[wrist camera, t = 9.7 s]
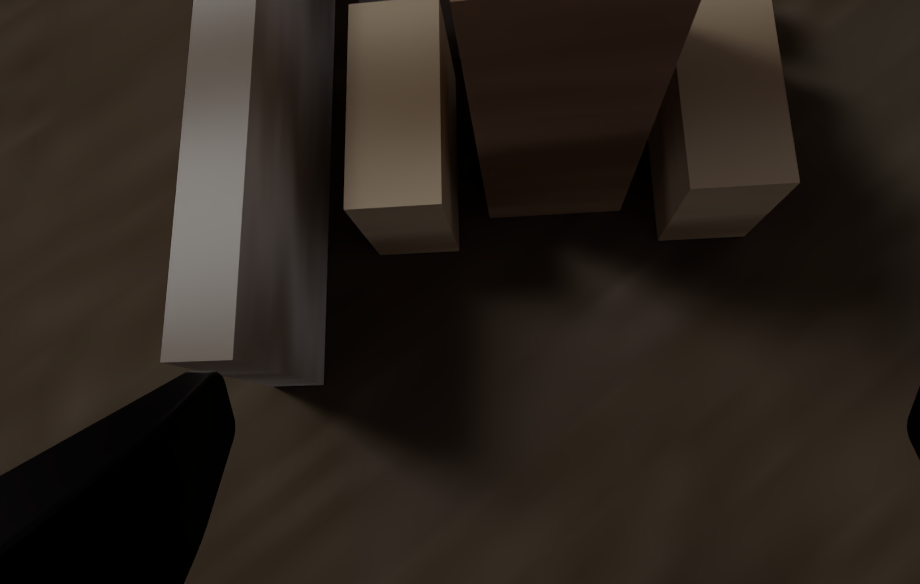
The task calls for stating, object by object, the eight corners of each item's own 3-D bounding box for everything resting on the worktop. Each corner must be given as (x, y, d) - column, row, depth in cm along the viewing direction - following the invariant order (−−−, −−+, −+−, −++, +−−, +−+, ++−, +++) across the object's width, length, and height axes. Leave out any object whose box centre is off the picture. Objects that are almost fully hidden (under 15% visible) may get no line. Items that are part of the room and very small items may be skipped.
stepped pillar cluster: (761, 371, 18) (874, 337, 12) (272, 386, 19) (160, 362, 13) (706, -49, 21) (773, -237, 15) (292, -9, 22) (209, -167, 17)
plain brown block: (620, 210, 19) (709, -23, 10) (489, 218, 20) (449, 1, 10) (609, 93, 20) (682, -227, 11) (485, 102, 21) (446, -197, 11)
